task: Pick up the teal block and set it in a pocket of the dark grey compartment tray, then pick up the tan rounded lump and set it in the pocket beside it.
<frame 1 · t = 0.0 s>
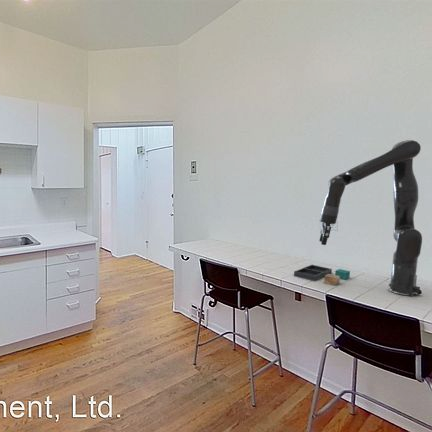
hand: (322, 243, 163), 22 cm above the worktop, tool pointing down, fingers open, 8 cm apart
dark grey compartment tray: (313, 274, 180), on the worktop
teal block: (342, 277, 174), on the worktop
tan rounded lump: (331, 282, 165), on the worktop
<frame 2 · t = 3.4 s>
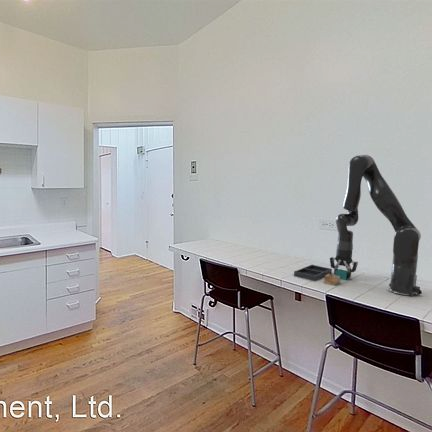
hand: (342, 276, 173), 1 cm above the worktop, tool pointing down, fingers closed on teal block, 5 cm apart
teal block: (342, 277, 174), on the worktop, touching gripper
everything else where it was.
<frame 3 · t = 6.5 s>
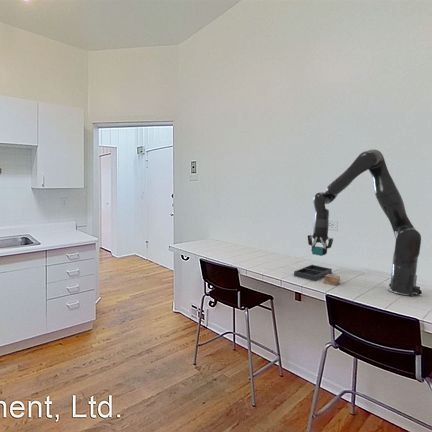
hand: (318, 253, 181), 12 cm above the worktop, tool pointing down, fingers closed on teal block, 5 cm apart
teal block: (318, 254, 181), point 12 cm above the worktop, touching gripper
everything else where it was.
when the fingers open (1 cm above the worktop, at t = 9.9 s): teal block stays where it is, resting on dark grey compartment tray.
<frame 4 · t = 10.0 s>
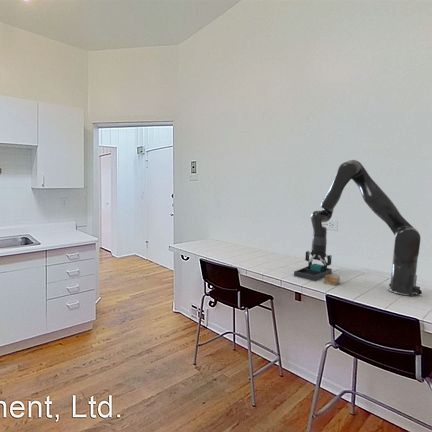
hand: (317, 269, 183), 2 cm above the worktop, tool pointing down, fingers open, 7 cm apart
teal block: (316, 271, 183), point 1 cm above the worktop, touching dark grey compartment tray
everything else where it was.
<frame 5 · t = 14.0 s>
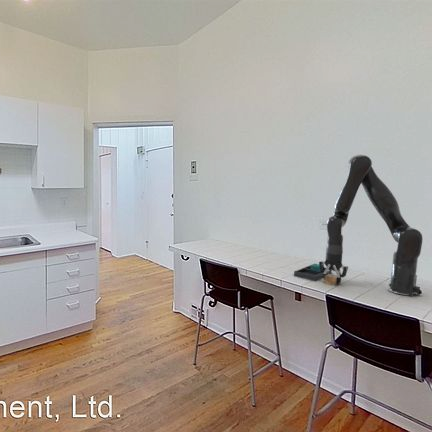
hand: (331, 282, 165), 0 cm above the worktop, tool pointing down, fingers closed on tan rounded lump, 5 cm apart
tan rounded lump: (331, 282, 165), on the worktop, touching gripper
everything else where it was.
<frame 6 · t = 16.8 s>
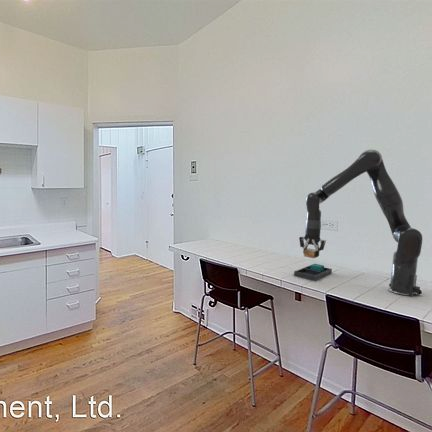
hand: (310, 255, 174), 12 cm above the worktop, tool pointing down, fingers closed on tan rounded lump, 5 cm apart
tan rounded lump: (310, 256, 174), point 12 cm above the worktop, touching gripper
everything else where it was.
when the fingers open (2 cm above the worktop, at t = 20.4 s): tan rounded lump stays where it is, resting on dark grey compartment tray.
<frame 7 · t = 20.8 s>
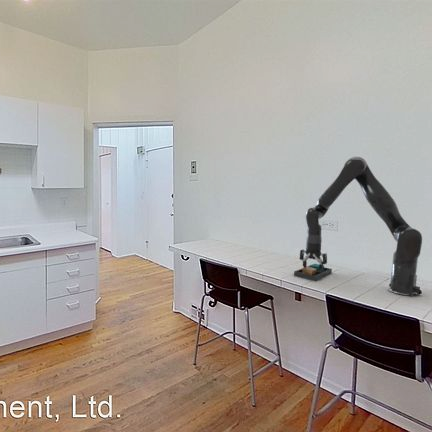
hand: (312, 268, 175), 5 cm above the worktop, tool pointing down, fingers open, 8 cm apart
tan rounded lump: (308, 274, 176), point 1 cm above the worktop, touching dark grey compartment tray, gripper
everything else where it was.
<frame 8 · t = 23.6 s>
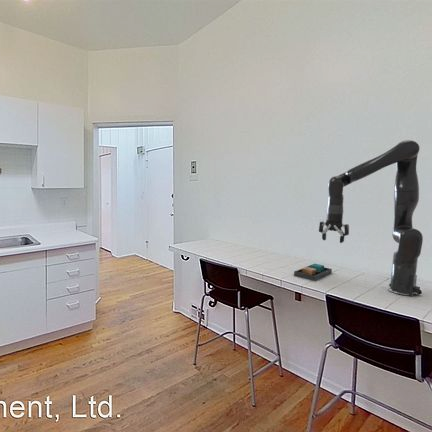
hand: (332, 241, 168), 22 cm above the worktop, tool pointing down, fingers open, 8 cm apart
tan rounded lump: (308, 275, 176), point 1 cm above the worktop, touching dark grey compartment tray
everything else where it was.
at the end: teal block 0.1 cm from the target spot in the dark grey compartment tray, point 0.6 cm above the dark grey compartment tray's base; tan rounded lump 0.2 cm from the target spot in the dark grey compartment tray, point 0.6 cm above the dark grey compartment tray's base; tan rounded lump tilted 0° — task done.
